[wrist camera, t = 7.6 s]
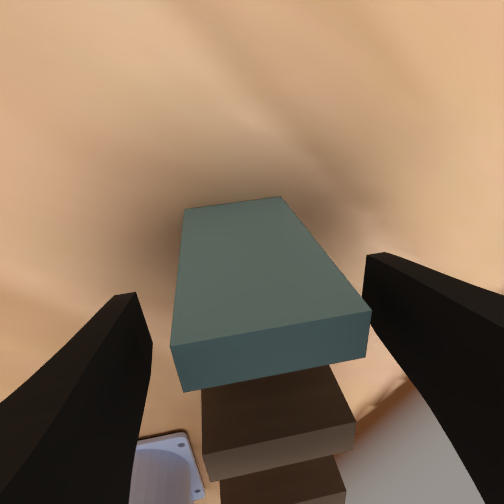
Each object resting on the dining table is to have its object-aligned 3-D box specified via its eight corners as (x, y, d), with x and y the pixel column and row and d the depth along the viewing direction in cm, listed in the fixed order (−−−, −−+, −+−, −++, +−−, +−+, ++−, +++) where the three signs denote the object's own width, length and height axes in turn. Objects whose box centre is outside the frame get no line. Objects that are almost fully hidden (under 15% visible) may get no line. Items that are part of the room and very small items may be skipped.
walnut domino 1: (284, 293, 18) (352, 450, 10) (204, 307, 18) (210, 482, 10) (283, 271, 17) (356, 422, 9) (199, 284, 17) (202, 455, 9)
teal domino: (282, 225, 16) (365, 357, 8) (190, 238, 15) (183, 392, 8) (280, 196, 15) (372, 310, 7) (184, 209, 15) (169, 346, 7)
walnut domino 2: (286, 346, 20) (343, 510, 12) (215, 359, 20) (227, 538, 12) (285, 328, 19) (346, 491, 12) (211, 342, 19) (222, 521, 11)
